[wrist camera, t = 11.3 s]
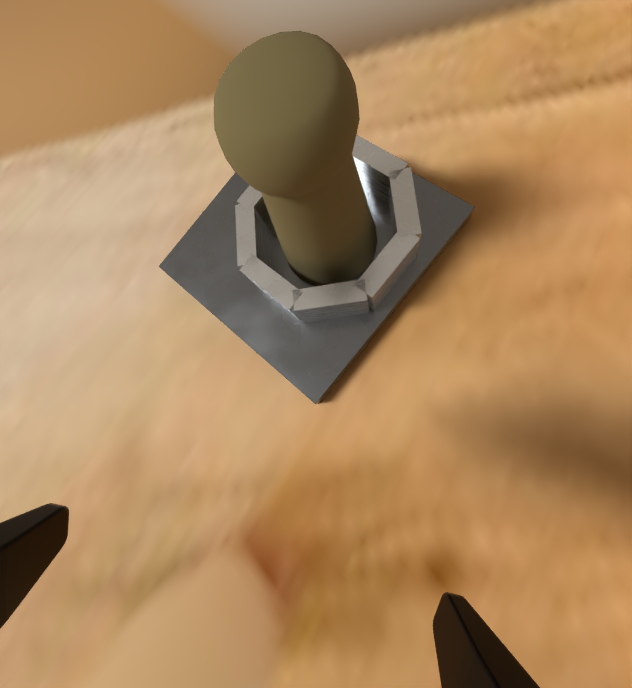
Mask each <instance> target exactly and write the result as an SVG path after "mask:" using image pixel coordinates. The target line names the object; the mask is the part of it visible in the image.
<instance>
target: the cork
mask: <svg viewBox="0 0 632 688" xmlns="http://www.w3.org/2000/svg"><path fill="white" fill-rule="evenodd" d="M358 124H359V106H358V99H357V92H356V85H355V82H354V80H353V77H352V74H351V72H350V70H349V68H348V66H347V65H346V63H345V62H344V60H343V58H342V57H341V55H340V54H339V53H338V52H337V51H336V50H335V49H334V48H333V46H332V45H330V44H329V43H327V42H326V41H325V40H323V39H322V38H320V37H319V36H317V35H313V34H310V33H306V32H302V31H293V32H280V33H276V34H273V35H270V36H267V37H264V38H262V39H260V40H258V41H256V42H255V43H253V44H251V45H250V46H248V47H247V48H245V49H244V50H243V51H242V52H240V53H239V55H238V56H236V58H234V59H233V60H232V62H230V64H229V65H228V67H227V68H226V70H225V71H224V73H223V75H222V76H221V78H220V80H219V82H218V86H217V89H216V93H215V96H214V126H215V132H216V135H217V138H218V141H219V144H220V146H221V148H222V151H223V153H224V155H225V157H226V159H227V161H228V162H229V164H230V165H231V167H232V168H233V170H234V171H235V172H236V173H237V174H238V175H239V176H240V177H241V178H242V179H243V180H244V181H245V182H247V183H248V184H249V185H250V186H251V187H253V188H254V189H255V190H257V191H260V192H261V194H262V197H263V199H264V202H265V205H266V207H267V210H268V213H269V215H270V218H271V221H272V223H273V226H274V228H275V231H276V234H277V236H278V239H279V242H280V244H281V247H282V250H283V252H284V255H285V258H286V260H287V262H288V264H289V267H290V269H291V270H292V271H293V272H294V273H295V274H296V275H297V277H298V278H299V279H301V280H303V281H305V282H307V283H309V284H311V285H313V286H322V285H328V284H335V283H341V282H347V281H351V280H353V279H355V278H357V277H358V276H359V275H360V274H361V273H362V272H363V271H364V270H365V269H366V268H367V267H368V265H369V264H370V262H371V260H372V258H373V256H374V255H375V250H376V245H377V233H376V226H375V223H374V220H373V217H372V214H371V211H370V208H369V204H368V201H367V198H366V195H365V192H364V189H363V186H362V183H361V180H360V177H359V173H358V170H357V167H356V164H355V161H354V158H353V155H352V152H353V148H354V143H355V139H356V134H357V129H358Z"/></svg>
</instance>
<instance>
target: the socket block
mask: <svg viewBox="0 0 632 688" xmlns="http://www.w3.org/2000/svg"><path fill="white" fill-rule="evenodd" d="M352 155H353V158H354V161H355V164H356V167H357V170H358V173H359V177H360V180H361V183H362V186H363V189H364V192H365V195H366V198H367V201H368V204H369V208H370V211H371V214H372V217H373V220H374V223H375V226H376V233H377V245H376V250H375V255H374V256H373V258H372V260H371V262H370V264H369V265H368V267H367V268H366V269H365V270H364V271H363V272H362V273H361V274H360V275H359V276H358V277H357V278H355V279H353V280H351V281H347V282H341V283H335V284H328V285H322V286H313V285H311V284H309V283H307V282H305V281H303V280H301V279H299V278H298V277H297V275H296V274H295V273H294V272H293V271H292V270H291V269H290V267H289V264H288V262H287V260H286V258H285V255H284V252H283V250H282V247H281V244H280V242H279V239H278V236H277V234H276V231H275V228H274V226H273V223H272V221H271V218H270V215H269V213H268V210H267V207H266V205H265V202H264V199H263V197H262V194H261V192H260V191H257V190H255V189H254V188H253V187H251V186H250V185H249V184H248V183H247V182H245V181H244V180H243V179H242V178H241V177H240V176H239V175H238V174H237V173H236V172H235V174H234V175H233V176H232V177H231V179H230V180H229V181H228V182H227V184H226V185H225V186H224V187H223V188H222V190H221V191H220V192H219V193H218V195H217V196H216V197H215V198H214V199H213V201H212V202H211V203H210V204H209V206H208V207H207V208H206V209H205V210H204V212H203V213H202V214H201V215H200V217H199V218H198V219H197V220H196V221H195V223H194V224H193V225H192V226H191V228H190V229H189V230H188V231H187V233H186V234H185V235H184V236H183V237H182V239H181V240H180V241H179V242H178V244H177V245H176V246H175V247H174V248H173V250H172V251H171V252H170V253H169V255H168V256H167V257H166V258H165V259H164V261H163V262H162V263H161V264H160V266H159V267H160V268H161V269H162V270H163V271H165V272H166V273H167V274H168V275H169V276H170V277H171V278H172V279H174V280H175V281H176V282H177V283H178V284H179V285H180V286H182V287H183V288H184V289H185V290H186V291H187V292H188V293H190V294H191V295H192V296H193V297H194V298H195V299H196V300H198V301H199V302H200V303H201V304H202V305H203V306H204V307H205V308H207V309H208V310H209V311H210V312H211V313H212V314H213V315H215V316H216V317H217V318H218V319H219V320H220V321H221V322H223V323H224V324H225V325H226V326H227V327H228V328H229V329H231V330H232V331H233V332H234V333H235V334H236V335H237V336H239V337H240V338H241V339H242V340H243V341H244V342H245V343H246V344H248V345H249V346H250V347H251V348H252V349H253V350H254V351H256V352H257V353H258V354H259V355H260V356H261V357H262V358H264V359H265V360H266V361H267V362H268V363H269V364H270V365H272V366H273V367H274V368H275V369H276V370H277V371H278V372H280V373H281V374H282V375H283V376H284V377H285V378H286V379H287V380H289V381H290V382H291V383H292V384H293V385H294V386H295V387H297V388H298V389H299V390H300V391H301V392H302V393H303V394H305V395H306V396H307V397H308V398H309V399H310V400H311V401H313V402H314V403H315V404H319V403H320V401H321V400H322V399H323V398H324V397H325V395H326V394H327V393H328V392H329V390H330V389H331V388H332V387H333V385H334V384H335V383H336V382H337V381H338V379H339V378H340V377H341V376H342V374H343V373H344V372H345V371H346V369H347V368H348V367H349V366H350V364H351V363H352V362H353V361H354V360H355V358H356V357H357V356H358V355H359V353H360V352H361V351H362V350H363V348H364V347H365V346H366V345H367V344H368V342H369V341H370V340H371V339H372V337H373V336H374V335H375V334H376V332H377V331H378V330H379V329H380V328H381V326H382V325H383V324H384V323H385V321H386V320H387V319H388V318H389V316H390V315H391V314H392V313H393V311H394V310H395V309H396V308H397V307H398V305H399V304H400V303H401V302H402V300H403V299H404V298H405V297H406V295H407V294H408V293H409V292H410V291H411V289H412V288H413V287H414V286H415V284H416V283H417V282H418V281H419V279H420V278H421V277H422V276H423V274H424V273H425V272H426V271H427V270H428V268H429V267H430V266H431V265H432V263H433V262H434V261H435V260H436V258H437V257H438V256H439V255H440V254H441V252H442V251H443V250H444V249H445V247H446V246H447V245H448V244H449V242H450V241H451V240H452V239H453V238H454V236H455V235H456V234H457V233H458V231H459V230H460V229H461V228H462V226H463V225H464V224H465V223H466V221H467V220H468V219H469V218H470V217H471V214H472V212H473V210H474V208H475V207H474V206H472V205H470V204H468V203H467V202H465V201H463V200H461V199H459V198H458V197H456V196H454V195H452V194H450V193H449V192H447V191H445V190H443V189H441V188H440V187H438V186H436V185H434V184H432V183H431V182H429V181H427V180H425V179H423V178H422V177H420V176H418V175H416V174H414V173H413V172H412V171H411V167H409V168H408V163H407V162H405V161H403V160H401V159H400V158H398V157H396V156H394V155H392V154H390V153H389V152H387V151H385V150H383V149H381V148H379V147H378V146H376V145H374V144H372V143H370V142H369V141H367V140H365V139H363V138H361V137H359V136H358V135H356V139H355V143H354V148H353V152H352Z"/></svg>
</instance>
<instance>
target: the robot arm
mask: <svg viewBox="0 0 632 688" xmlns="http://www.w3.org/2000/svg"><path fill="white" fill-rule="evenodd" d="M68 522H69V509H68V507H66V506H62V505H58V504H53V503H50V504H46V505H43V506H41V507H38V508H36V509H33V510H31V511H28V512H26V513H24V514H21V515H19V516H16V517H14V518H11V519H9V520H6V521H4V522H1V523H0V628H1V627H2V626H3V625H4V624H5V622H6V621H7V620H8V619H9V617H10V616H11V615H12V614H13V612H14V611H15V610H16V608H17V607H18V606H19V604H20V603H21V602H22V600H23V599H24V598H25V596H26V595H27V594H28V592H29V591H30V590H31V588H32V587H33V586H34V584H35V583H36V582H37V580H38V579H39V578H40V576H41V575H42V574H43V572H44V571H45V570H46V568H47V567H48V566H49V564H50V563H51V562H52V560H53V559H54V558H55V556H56V555H57V554H58V552H59V551H60V550H61V548H62V547H63V545H64V544H65V542H66V539H67V536H68ZM433 633H434V639H435V646H436V653H437V659H438V666H439V673H440V679H441V686H442V688H540V687H539V686H538V685H537V684H536V682H535V681H534V680H533V679H532V678H531V676H530V675H529V674H528V673H527V672H526V670H525V669H524V668H523V667H522V666H521V665H520V663H519V662H518V661H517V660H516V659H515V657H514V656H513V655H512V654H511V653H510V651H509V650H508V649H507V648H506V647H505V645H504V644H503V643H502V642H501V641H500V640H499V638H498V637H497V636H496V635H495V634H494V632H493V631H492V630H491V629H490V628H489V626H488V625H487V624H486V623H485V622H484V620H483V619H482V618H481V617H480V616H479V614H478V613H477V612H476V611H475V610H474V609H473V607H472V606H471V605H470V604H469V603H468V601H467V600H466V599H465V598H464V597H463V596H461V595H457V594H453V593H448V592H445V593H444V594H443V595H442V597H441V600H440V603H439V605H438V608H437V611H436V614H435V616H434V620H433Z"/></svg>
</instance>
